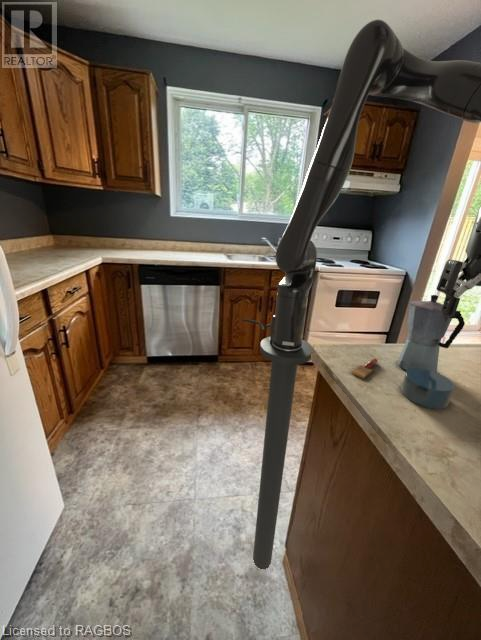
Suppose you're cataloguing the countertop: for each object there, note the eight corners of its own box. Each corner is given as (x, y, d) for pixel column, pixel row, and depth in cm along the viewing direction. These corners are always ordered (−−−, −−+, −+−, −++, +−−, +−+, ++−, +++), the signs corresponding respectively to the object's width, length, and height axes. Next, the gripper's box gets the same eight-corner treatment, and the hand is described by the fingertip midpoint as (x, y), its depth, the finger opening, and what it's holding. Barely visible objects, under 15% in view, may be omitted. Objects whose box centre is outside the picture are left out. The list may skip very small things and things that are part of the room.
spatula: (363, 378, 66) (364, 373, 66) (351, 373, 68) (352, 368, 68) (380, 364, 74) (381, 360, 73) (369, 360, 76) (370, 355, 75)
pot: (392, 397, 60) (397, 379, 58) (409, 378, 68) (414, 362, 66) (440, 418, 54) (447, 399, 52) (453, 394, 62) (459, 377, 60)
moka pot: (408, 354, 80) (427, 288, 74) (459, 383, 67) (489, 305, 60) (381, 356, 78) (399, 289, 71) (429, 387, 64) (456, 306, 57)
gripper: (518, 229, 51) (487, 311, 56) (444, 225, 50) (420, 308, 56) (564, 230, 44) (524, 324, 49) (479, 226, 43) (447, 321, 49)
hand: (469, 316), depth 52 cm, fingers open, 8 cm apart
